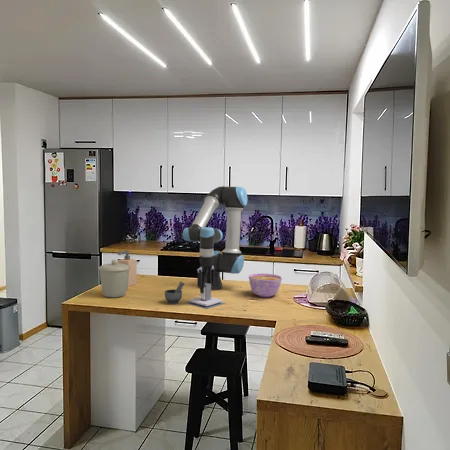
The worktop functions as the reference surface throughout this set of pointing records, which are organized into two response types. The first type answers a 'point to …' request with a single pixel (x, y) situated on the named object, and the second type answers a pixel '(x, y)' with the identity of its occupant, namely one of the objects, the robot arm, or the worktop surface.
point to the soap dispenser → (132, 264)
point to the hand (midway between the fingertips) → (205, 297)
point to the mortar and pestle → (174, 294)
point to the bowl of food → (265, 284)
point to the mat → (205, 306)
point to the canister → (114, 279)
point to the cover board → (207, 303)
